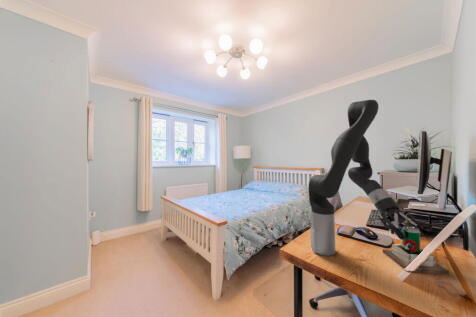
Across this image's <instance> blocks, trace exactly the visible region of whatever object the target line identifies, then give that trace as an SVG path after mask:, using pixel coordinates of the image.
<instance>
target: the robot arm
mask: <svg viewBox="0 0 476 317" xmlns="http://www.w3.org/2000/svg"><path fill="white" fill-rule="evenodd" d="M378 112H379V102H378V101H377V100H375V99H366V100H361V101H353V102H352V103H350V104H349V106H348V108H347V119H348V120H347V121H348V126H349V128H347V129H345V131H343V132H342V133H340V134H339V135H338V137H337V138H336V139H335V141H334V143H333V145H332V147H331V150H330V153H331V154H330V156H331V166H330V168H329V170H328V172H327V173H326V174H325V175H321V174H320V175H319V174H316V175H315V174H314V175H313V176H311V177H310V179H309V181H308V200H309V201H308V202H309V206H310V207H311V226H310V247H311V249H312V251H313V253H314V254H319V255H322V256H326V257H328V256H331V257H332V256H334V255H335V254H336V228H335V227H336V221H335V220H336V218H335V217H336V214H335V206H334V205H333V204H332V203H330V200H328V199H332V198H334V197H335V196H336V195H337V194H338V192H339V190H340V188H341V186H342V185H341V184H342V181H343V180H344V176H345V174H346V171H347V169H348V167H349V165H350V162H351V161H353V163H356V164H359V166H354V167H350V168H349V169H348V171H347V175H348V178H349V179H350V181H351V182H353V183H354V184H356V185H357V187H359V188H360V189H361V190H363V192H364V193H365V194H366V196H367V197H368V199H369V200H370V202H371V203H372V204H373V206H374V207H375V208H376V210H378V212H379V214H378V215H377V218H378V220H380V222H381V223H382V225H383V226H384V227H385V229H386V230H391V231H393V232H394V234H395V236H396V237H398V239H399V240H401V241H402V240H403V239H405V238H406V236H405V235H404V234H403V232H402V229H400V228H399V226H398V224H399V225H400V224H402V225H403V226H411V227H415V228H418V229H419V227H418V225H419V224H420V222H419V221H418V220H417V219H416V218H415V217H414V215H412V214H411V212H409V211H408V210H405V211H402V210H400V205H399V204H398V203H397V202H396V201H395V199H394V198H393V197H392V196H391V195H390V194H389V193H388V192H387V190H385V189H384V188H383V186H382V185H381V184H380V183H379V182H378V181H377V180H375V179H371V178H372V176H373V173H374V172H373V167H372V164H371V161H370V158H369V157H370V145H369V142H368V140H367V139H366V137H365V134H366V132H367V130H368V129H369V127H370V126H371V124H372V123H373V121H374V119H375V118H376V116H377V115H378ZM419 232H420V238H422V237H424V233H423V232H422V230H421V229H419Z"/></svg>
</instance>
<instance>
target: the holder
mask: <svg viewBox="0 0 476 317" xmlns="http://www.w3.org/2000/svg"><path fill="white" fill-rule="evenodd" d="M423 250H424V249H423V248H421V252H422V251H423ZM382 253H383V254H384V255H385V256H386V257H388V258H389V259H391V260H392V261H393V262H394V263H396V265H398V266H399V267H400V268H402V269H403V270H404V268H406V267H407V266H408V265H409V264H410V263H411V262H412V261H413V260H414V259H415V258H416V257H417V256H418V255H413V254H408V253H407V252H405V251H404V250H403V249H402V244H399V243H397V244H396V243H395V244H394V243H391V249H382ZM436 258H437V257H436V256H435V255H433V254H431V253H430V255H429V256H428V258H427V259H426V260H425V261H424V262H423V263H422V264H421V265H420V266H419V267H418V268H417V269H416V270H415V271H413V272H412V273H421V274H422V273H425V274H435V275H436V274H439V275H450V270H448V269H446V268H445V267H444V266H441V264H439V263H437V261H436Z"/></svg>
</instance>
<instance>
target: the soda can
mask: <svg viewBox="0 0 476 317" xmlns="http://www.w3.org/2000/svg"><path fill="white" fill-rule="evenodd" d="M418 228H419V227H418ZM418 228H415V227H411V226H406V225H403V226H402V228H401V231H402V232H403V234H404V235H405V236H406V238H405V239H403V240H401V241H402V242H401V243H402V244H401V245H402V249H403V250H404V251H405V252H407V253H408V254H413V255H419V254H420V253H421V249H422V247H421V237H420V232H419V230H420V229H418Z"/></svg>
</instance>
